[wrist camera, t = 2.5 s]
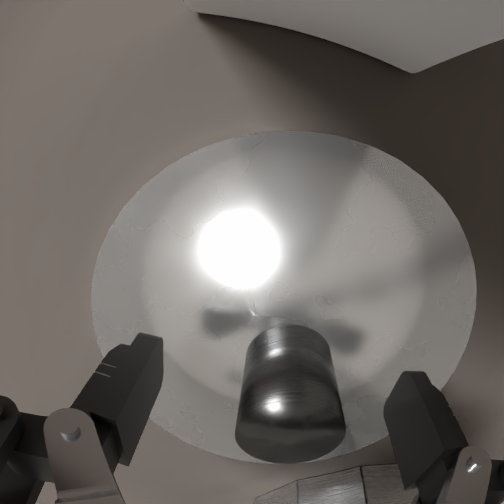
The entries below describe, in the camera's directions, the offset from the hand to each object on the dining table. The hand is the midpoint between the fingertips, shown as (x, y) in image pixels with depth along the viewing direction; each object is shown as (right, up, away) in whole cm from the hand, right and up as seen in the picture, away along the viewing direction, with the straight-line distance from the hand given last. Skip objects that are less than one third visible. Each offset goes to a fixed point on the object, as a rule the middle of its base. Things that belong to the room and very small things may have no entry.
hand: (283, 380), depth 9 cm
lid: (0, +1, +2) cm, 2 cm away
